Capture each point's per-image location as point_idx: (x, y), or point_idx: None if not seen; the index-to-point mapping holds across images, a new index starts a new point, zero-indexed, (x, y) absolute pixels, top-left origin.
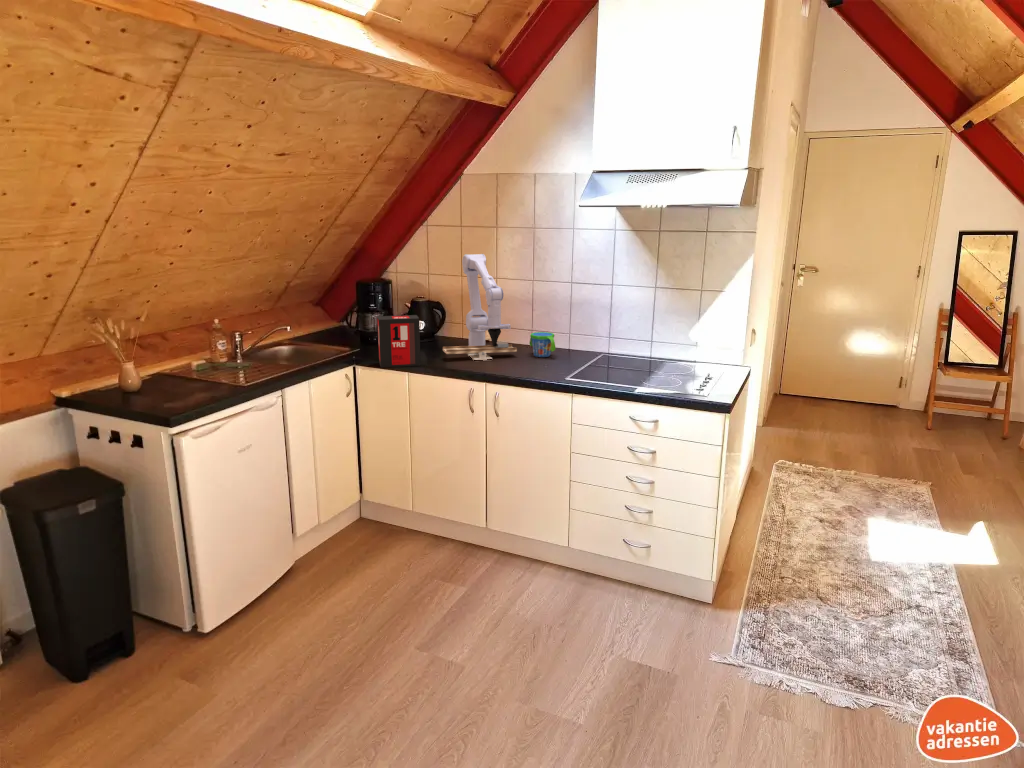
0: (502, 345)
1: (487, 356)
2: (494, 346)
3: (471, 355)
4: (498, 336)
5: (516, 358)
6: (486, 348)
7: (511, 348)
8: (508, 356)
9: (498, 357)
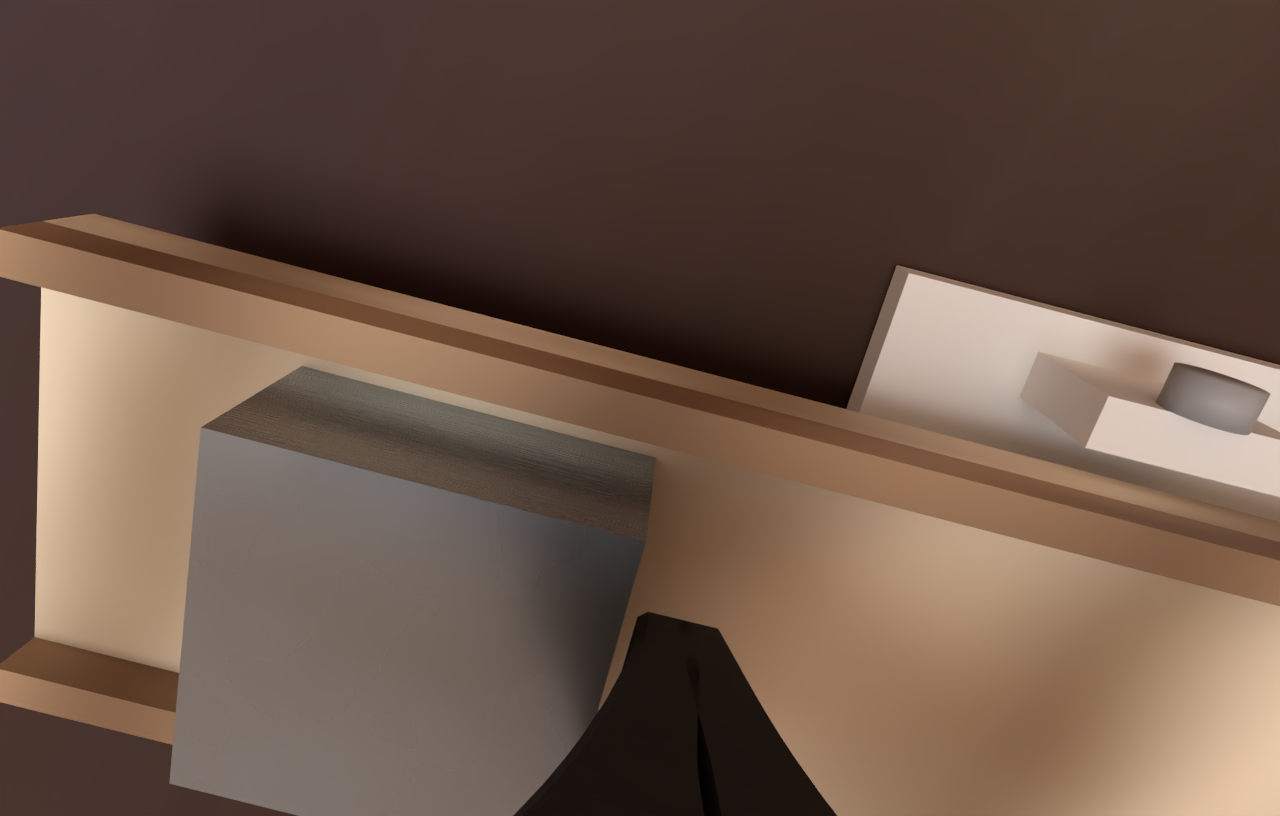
0: (464, 469)
1: None
2: None
3: None
4: (545, 801)
5: (243, 93)
6: (1066, 543)
7: (206, 274)
8: None
9: None
